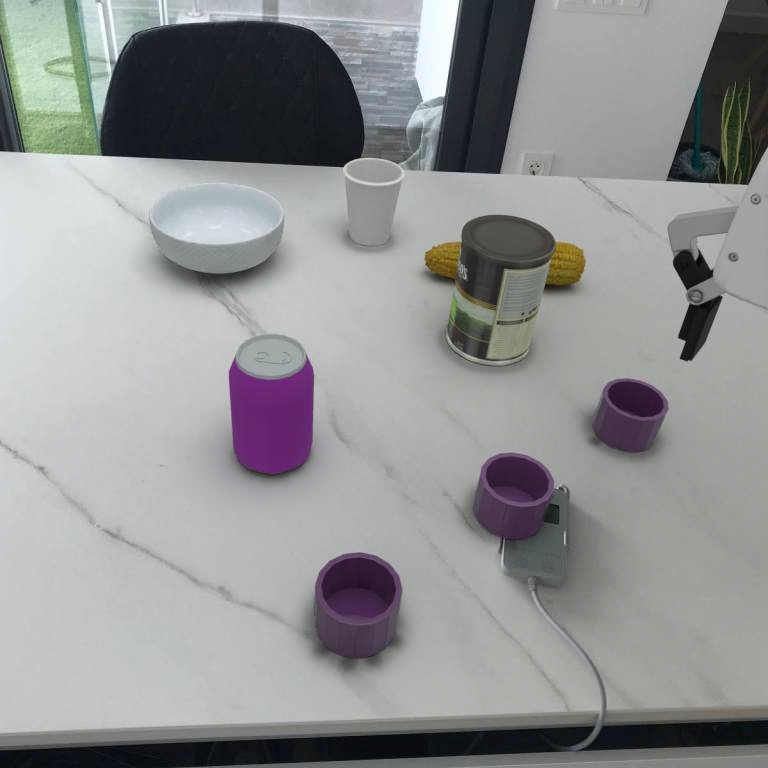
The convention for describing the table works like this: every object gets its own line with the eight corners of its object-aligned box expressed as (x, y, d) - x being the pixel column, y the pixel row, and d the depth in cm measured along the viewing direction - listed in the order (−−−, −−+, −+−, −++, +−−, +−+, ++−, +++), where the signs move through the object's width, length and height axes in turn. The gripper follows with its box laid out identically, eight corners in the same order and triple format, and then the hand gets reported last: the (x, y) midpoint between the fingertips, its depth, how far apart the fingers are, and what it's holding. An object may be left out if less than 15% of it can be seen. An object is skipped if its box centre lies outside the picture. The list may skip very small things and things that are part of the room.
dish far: (666, 449, 81) (679, 417, 78) (607, 454, 79) (619, 422, 76) (638, 407, 86) (650, 376, 83) (583, 412, 84) (593, 380, 81)
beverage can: (228, 478, 73) (221, 379, 65) (238, 422, 79) (232, 326, 71) (310, 481, 73) (312, 383, 66) (314, 426, 79) (316, 330, 72)
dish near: (404, 652, 60) (410, 619, 57) (319, 663, 59) (321, 630, 56) (388, 582, 65) (392, 548, 62) (309, 591, 64) (310, 557, 61)
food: (572, 273, 107) (582, 234, 103) (581, 295, 103) (592, 256, 99) (421, 265, 106) (426, 226, 102) (424, 288, 101) (429, 247, 97)
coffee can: (440, 358, 90) (457, 251, 81) (450, 310, 98) (466, 208, 89) (529, 373, 89) (556, 267, 80) (532, 323, 97) (556, 221, 88)
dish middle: (554, 536, 70) (565, 502, 68) (484, 543, 69) (493, 509, 66) (530, 482, 75) (539, 449, 73) (465, 488, 74) (472, 455, 71)
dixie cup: (365, 256, 106) (370, 189, 100) (328, 231, 111) (330, 165, 104) (410, 240, 111) (417, 174, 104) (372, 217, 115) (377, 152, 109)
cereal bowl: (197, 308, 94) (193, 257, 89) (131, 250, 103) (124, 201, 98) (309, 266, 103) (310, 218, 99) (239, 217, 112) (237, 171, 108)
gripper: (696, 84, 40) (614, 354, 50) (1104, 183, 32) (907, 477, 43) (739, 56, 45) (656, 308, 55) (1102, 136, 37) (926, 410, 48)
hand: (766, 381), depth 49 cm, fingers open, 9 cm apart
